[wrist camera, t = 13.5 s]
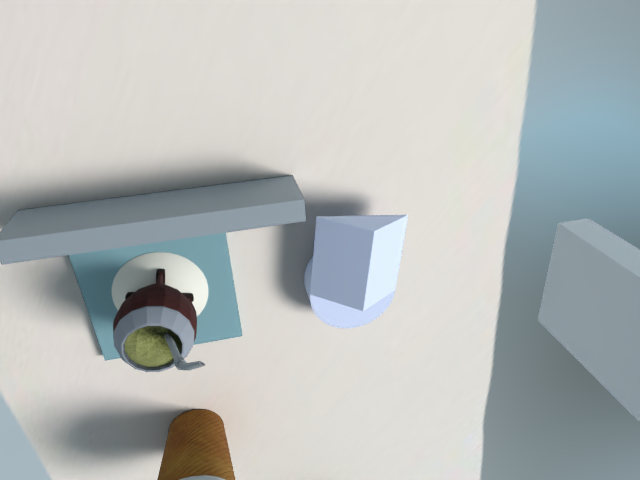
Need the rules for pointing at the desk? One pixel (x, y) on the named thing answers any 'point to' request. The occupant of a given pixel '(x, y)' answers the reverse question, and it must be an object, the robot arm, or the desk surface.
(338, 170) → the desk surface
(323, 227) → the wedge on round base
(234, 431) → the desk surface
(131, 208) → the low wall
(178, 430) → the disposable coffee cup
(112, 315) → the mat
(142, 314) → the mate gourd
